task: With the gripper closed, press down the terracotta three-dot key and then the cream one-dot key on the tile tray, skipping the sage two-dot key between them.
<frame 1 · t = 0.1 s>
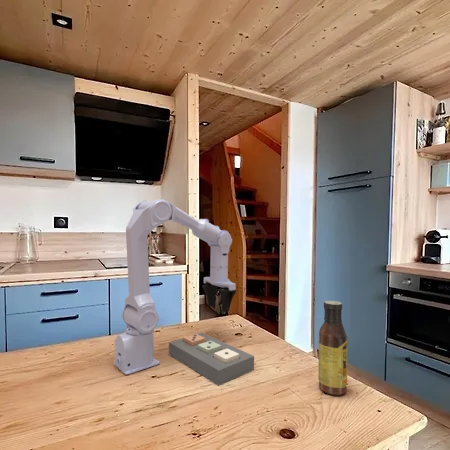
hand: (218, 308, 100), 10 cm above the table, fingers open, 7 cm apart
tile three: (194, 340, 88), point 4 cm above the table, slide at 0.0 cm
sauce bottle: (332, 389, 70), on the table
tile one: (226, 356, 78), point 4 cm above the table, slide at 0.0 cm
tile two: (209, 348, 83), point 4 cm above the table, slide at 0.0 cm
tile tray: (209, 361, 83), on the table
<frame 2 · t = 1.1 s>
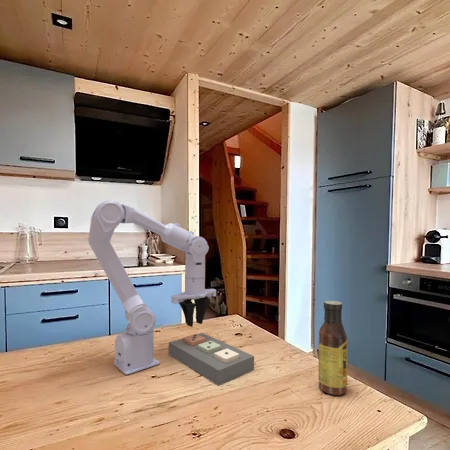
hand: (194, 324, 88), 8 cm above the table, fingers open, 3 cm apart
nothing on the table moved.
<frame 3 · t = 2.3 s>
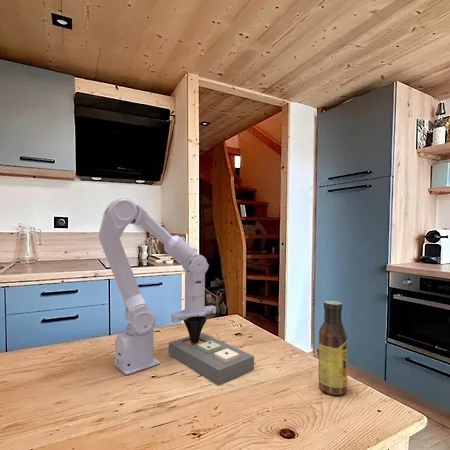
hand: (194, 342, 89), 3 cm above the table, fingers closed, pressing on tile three
tile three: (194, 345, 89), point 2 cm above the table, slide at 1.3 cm, touching gripper
everything else where it was.
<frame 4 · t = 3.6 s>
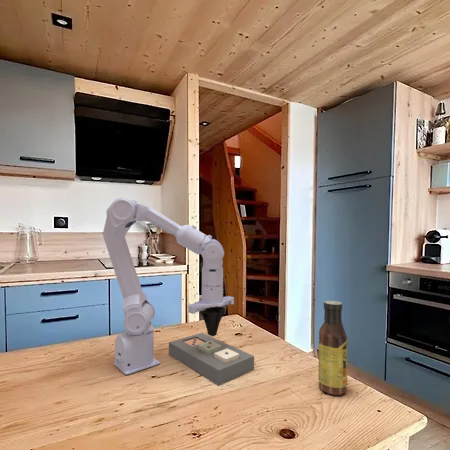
hand: (212, 334, 83), 8 cm above the table, fingers closed
tile three: (194, 345, 89), point 2 cm above the table, slide at 1.3 cm
everything else where it was.
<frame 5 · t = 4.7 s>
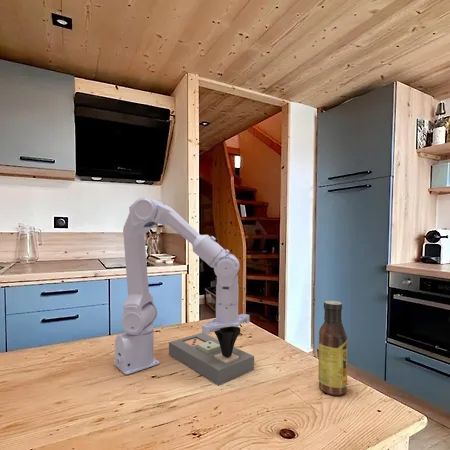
hand: (226, 355, 78), 4 cm above the table, fingers closed, pressing on tile one
tile one: (226, 359, 78), point 3 cm above the table, slide at 0.7 cm, touching gripper
everything else where it was.
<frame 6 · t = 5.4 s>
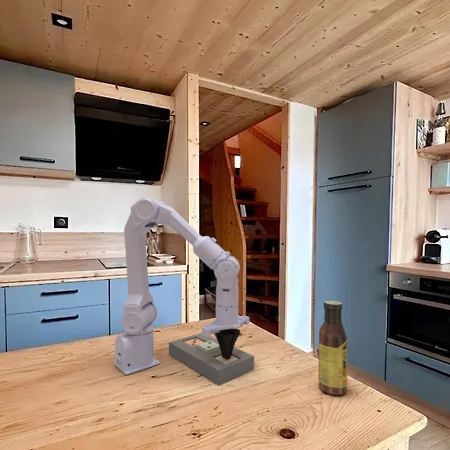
hand: (226, 357, 78), 3 cm above the table, fingers closed
tile one: (226, 361, 78), point 2 cm above the table, slide at 1.3 cm
everything else where it was.
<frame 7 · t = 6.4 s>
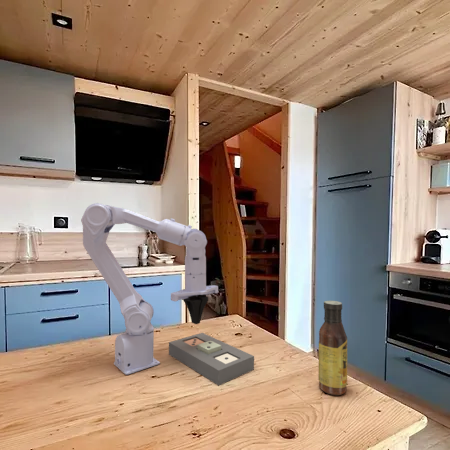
hand: (195, 322, 84), 10 cm above the table, fingers closed
nothing on the table moved.
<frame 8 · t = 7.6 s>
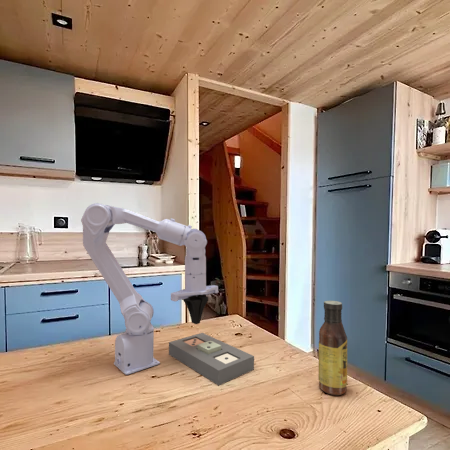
hand: (195, 322, 84), 10 cm above the table, fingers closed
nothing on the table moved.
at the end: tile three slide at 1.3 cm; tile one slide at 1.3 cm; tile two slide at 0.0 cm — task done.
